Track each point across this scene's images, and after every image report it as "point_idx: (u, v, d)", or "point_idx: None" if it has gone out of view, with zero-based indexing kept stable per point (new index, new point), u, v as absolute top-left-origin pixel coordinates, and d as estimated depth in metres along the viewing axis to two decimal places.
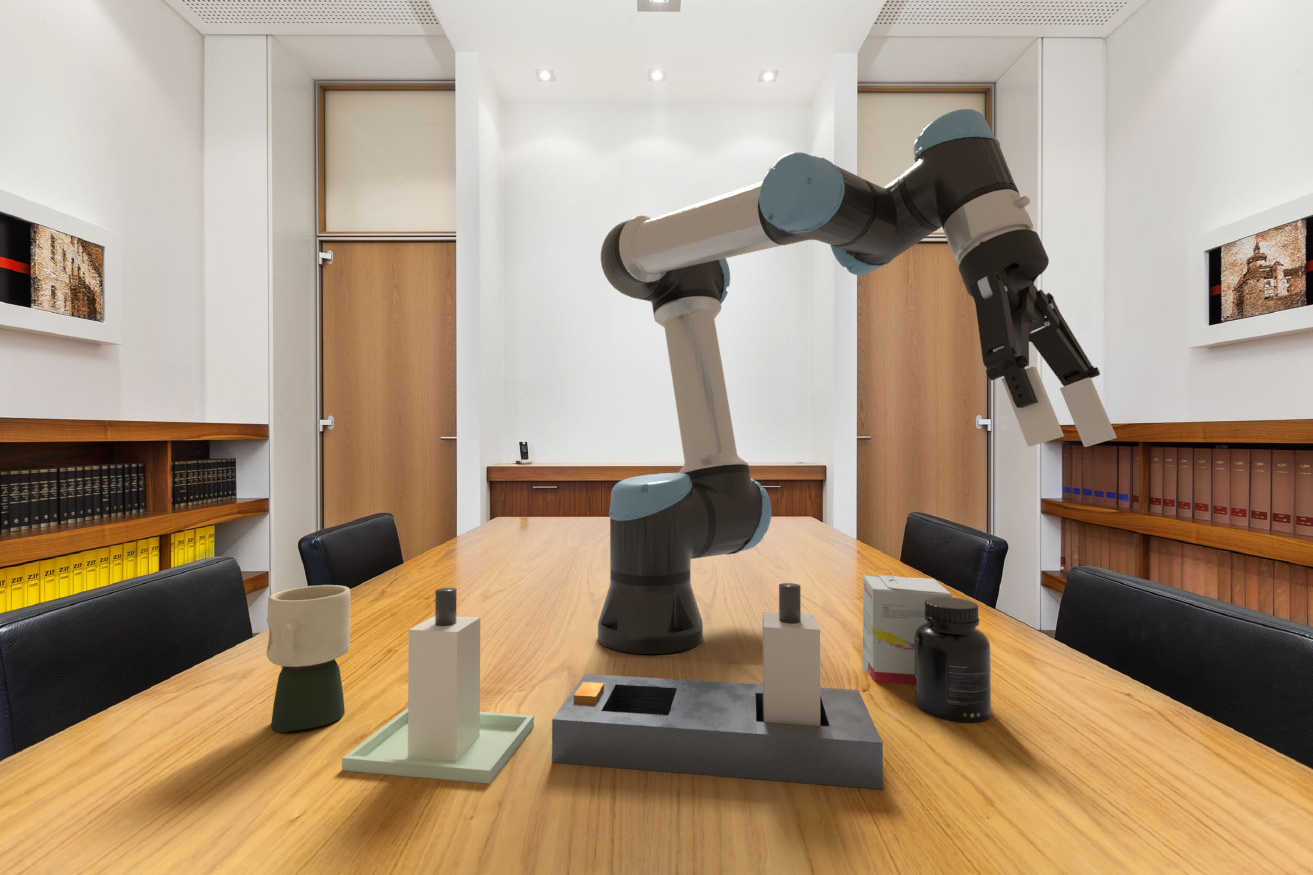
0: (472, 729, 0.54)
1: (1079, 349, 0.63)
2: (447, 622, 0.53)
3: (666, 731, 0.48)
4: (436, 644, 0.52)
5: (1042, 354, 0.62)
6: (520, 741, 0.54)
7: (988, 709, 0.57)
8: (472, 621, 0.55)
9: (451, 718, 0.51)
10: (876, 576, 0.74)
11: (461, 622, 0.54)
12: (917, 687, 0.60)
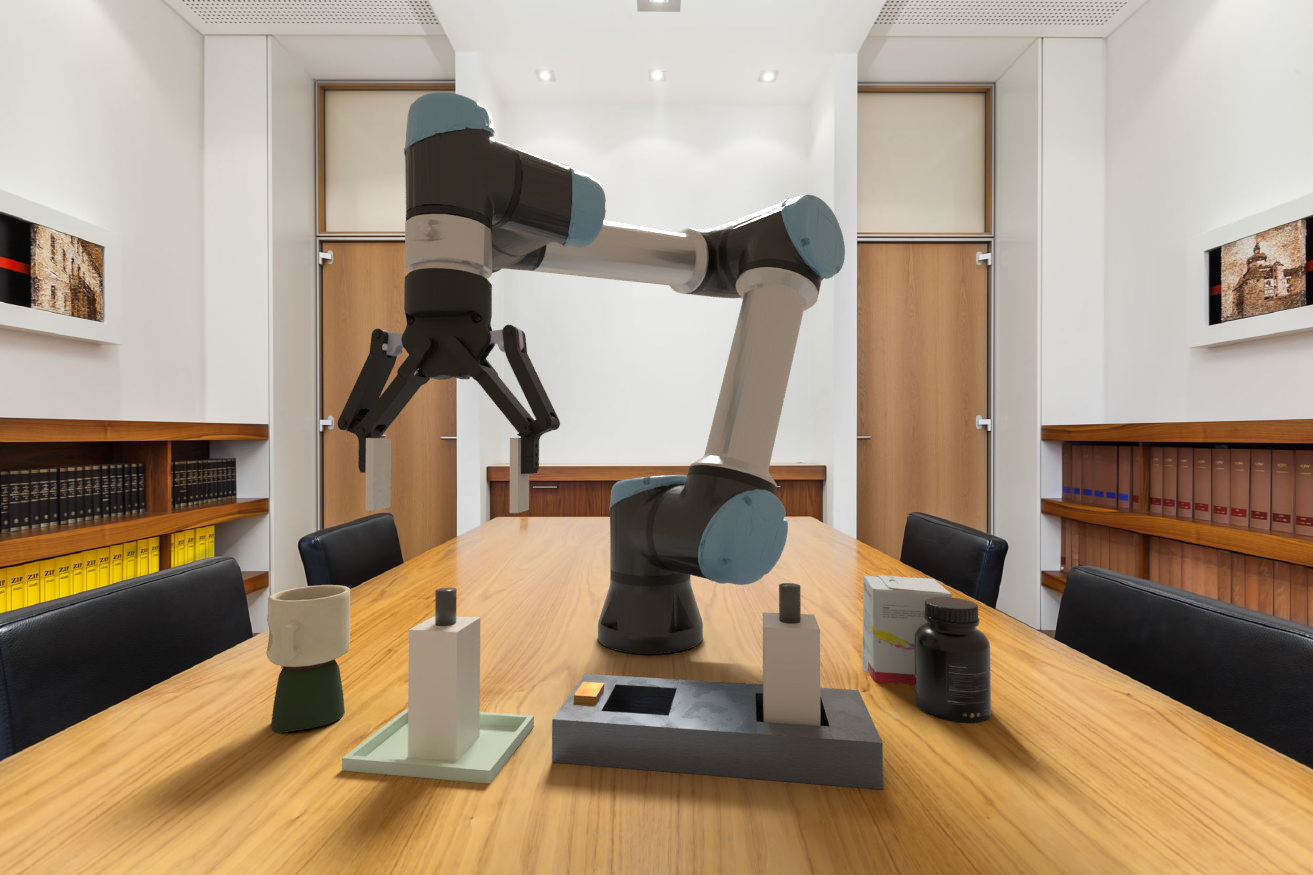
0: (472, 729, 0.54)
1: (529, 398, 0.52)
2: (447, 622, 0.53)
3: (666, 731, 0.48)
4: (436, 644, 0.52)
5: None
6: (520, 741, 0.54)
7: (988, 709, 0.57)
8: (472, 621, 0.55)
9: (451, 718, 0.51)
10: (876, 576, 0.74)
11: (461, 622, 0.54)
12: (917, 687, 0.60)
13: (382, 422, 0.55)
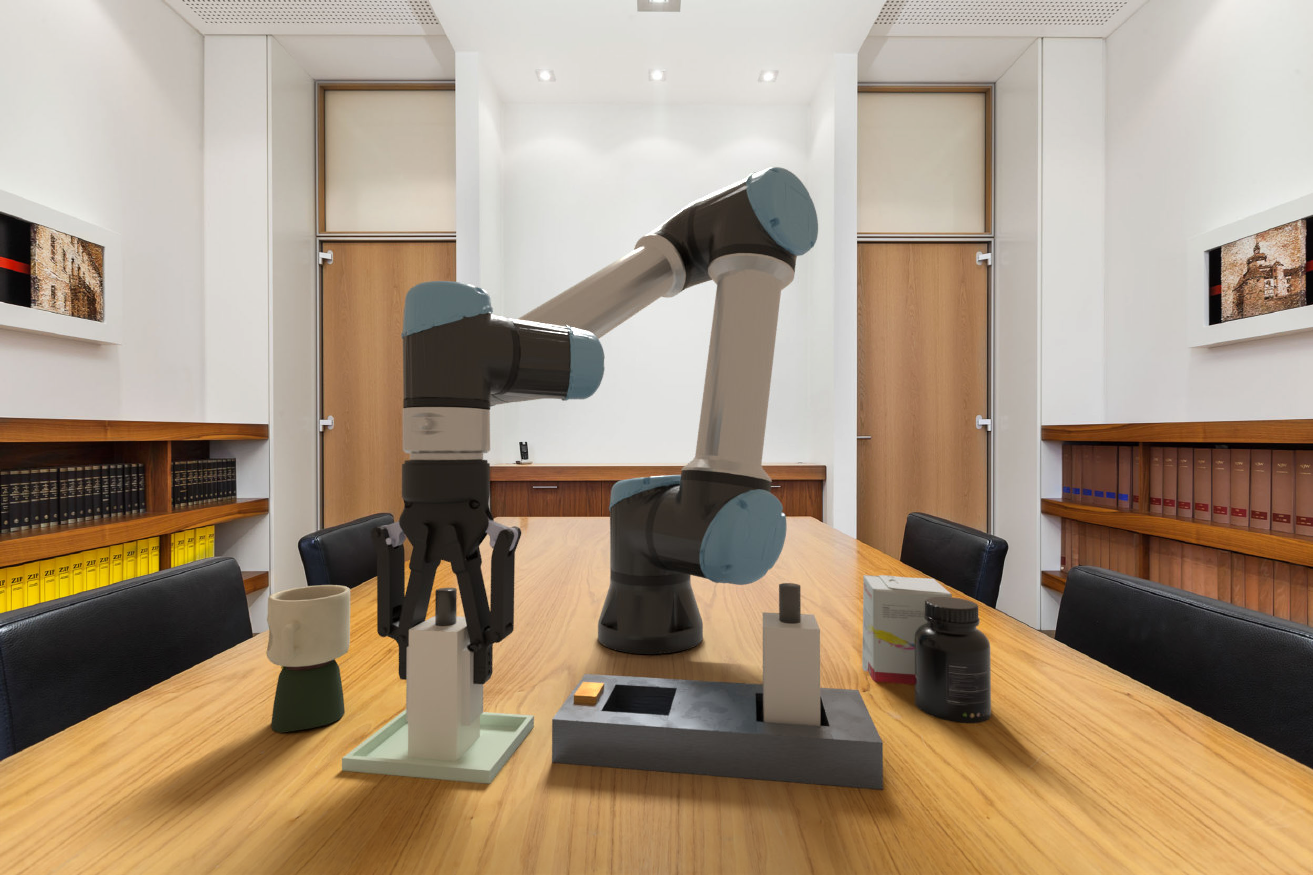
0: (472, 729, 0.54)
1: (493, 606, 0.52)
2: (447, 622, 0.53)
3: (666, 731, 0.48)
4: (436, 644, 0.52)
5: None
6: (520, 741, 0.54)
7: (988, 709, 0.57)
8: None
9: (451, 718, 0.51)
10: (876, 576, 0.74)
11: (461, 622, 0.54)
12: (917, 687, 0.60)
13: (417, 620, 0.54)
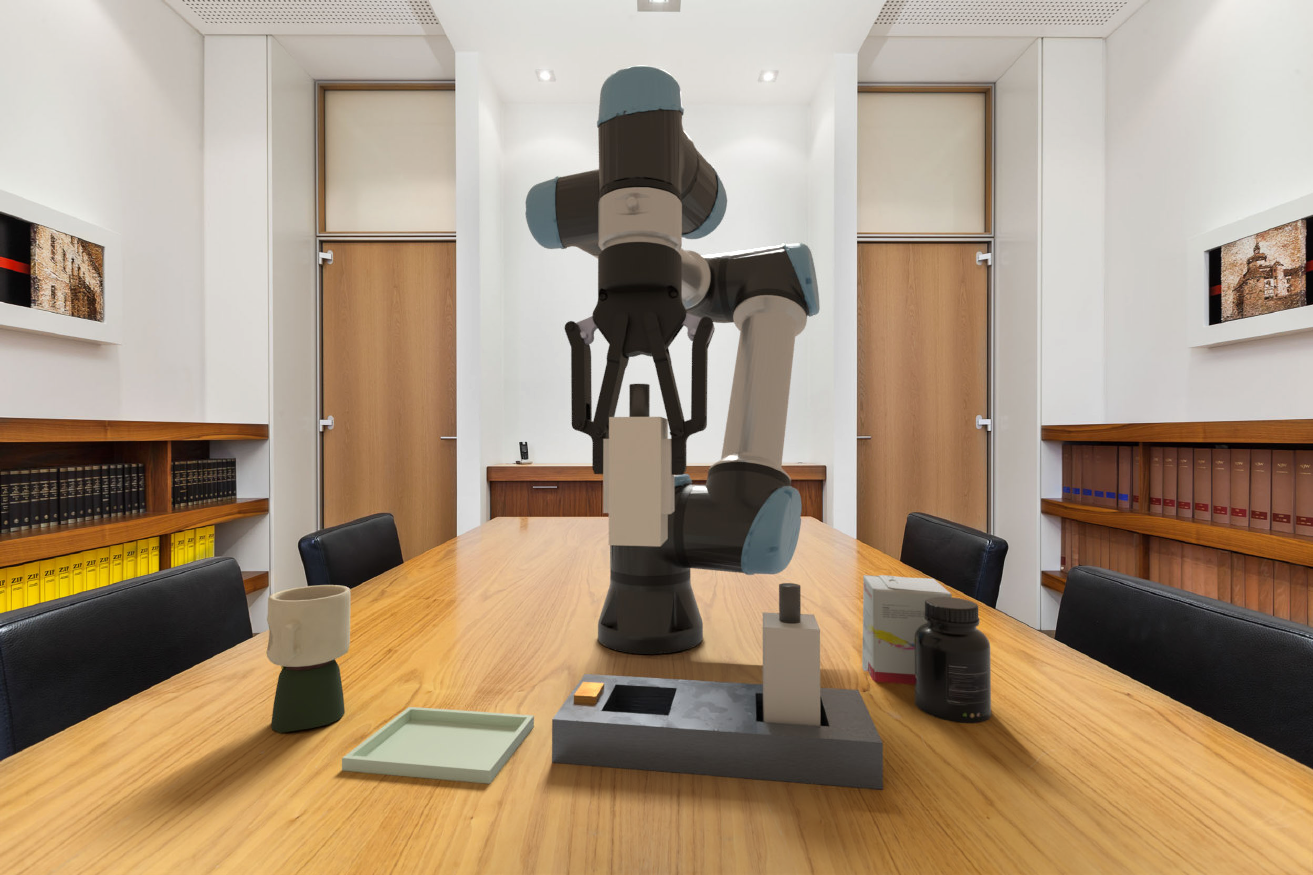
0: (665, 526, 0.54)
1: (694, 394, 0.52)
2: (644, 414, 0.53)
3: (666, 731, 0.48)
4: (638, 430, 0.51)
5: None
6: (520, 741, 0.54)
7: (988, 709, 0.57)
8: (664, 418, 0.54)
9: (654, 503, 0.51)
10: (876, 576, 0.74)
11: None
12: (917, 687, 0.60)
13: (610, 416, 0.54)
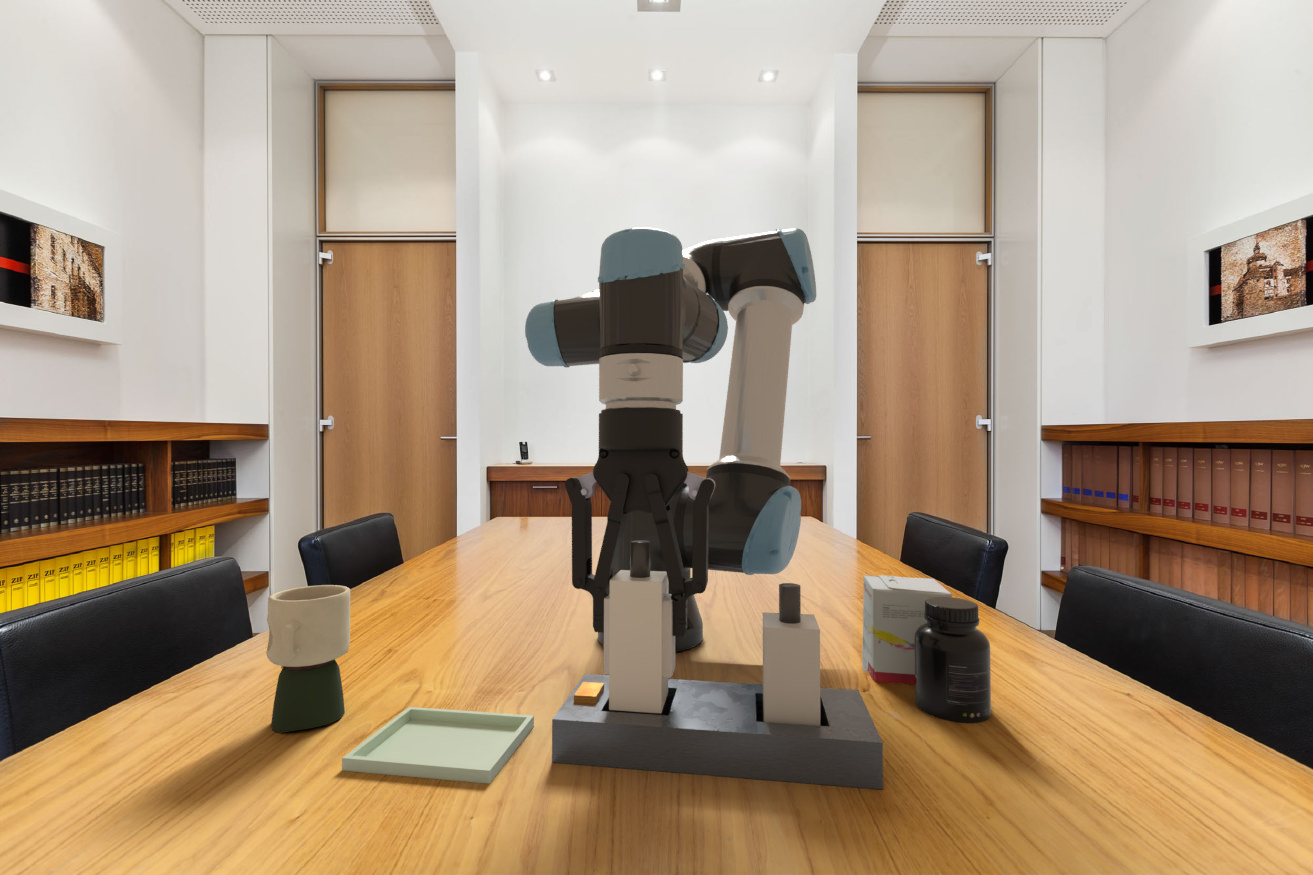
0: (666, 683, 0.53)
1: (695, 557, 0.51)
2: (644, 574, 0.52)
3: (666, 731, 0.48)
4: (638, 594, 0.51)
5: None
6: (520, 741, 0.54)
7: (988, 709, 0.57)
8: (665, 574, 0.54)
9: (655, 670, 0.50)
10: (876, 576, 0.74)
11: (655, 575, 0.53)
12: (917, 687, 0.60)
13: (611, 573, 0.53)
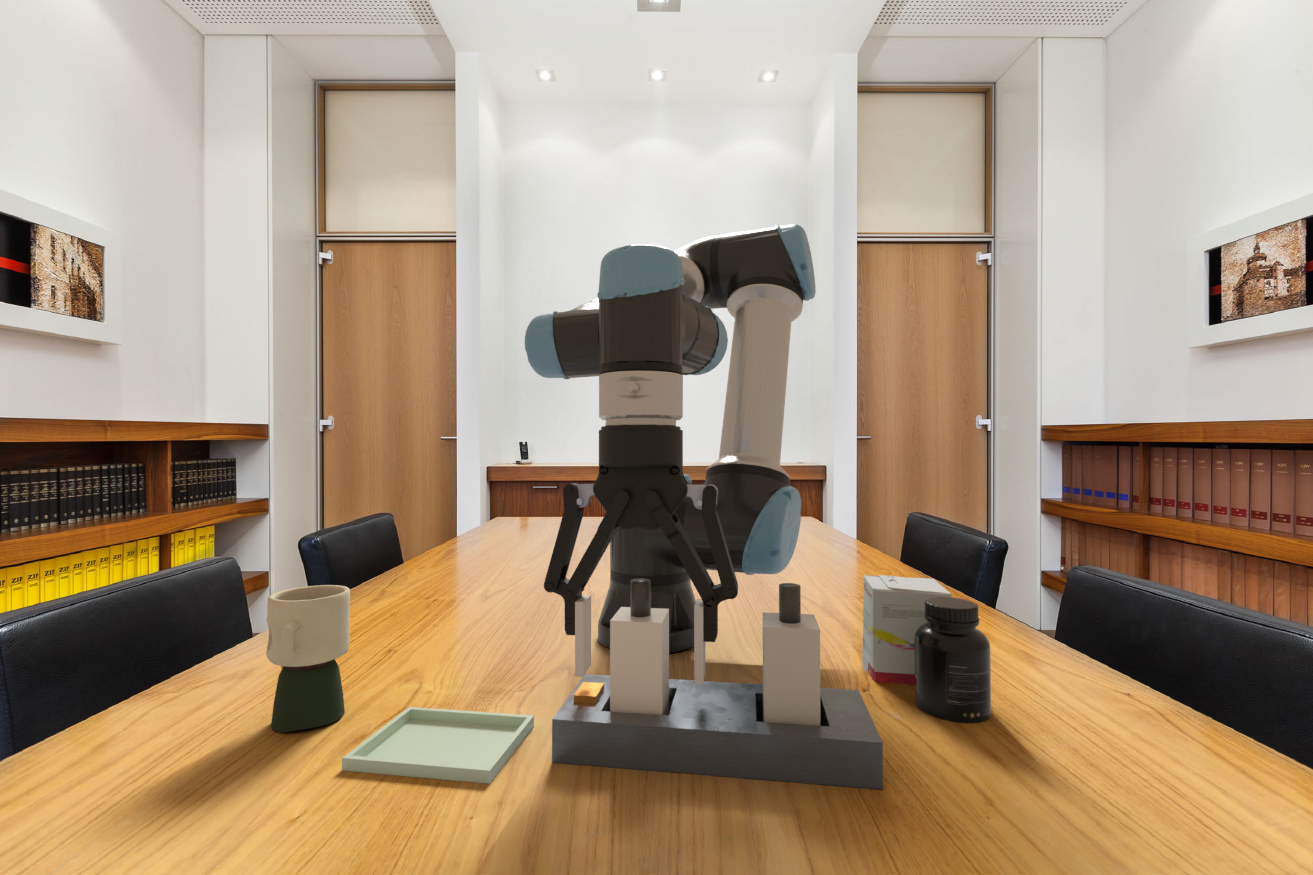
0: None
1: (719, 564, 0.51)
2: (645, 613, 0.52)
3: (666, 731, 0.48)
4: (639, 635, 0.51)
5: None
6: (520, 741, 0.54)
7: (988, 709, 0.57)
8: (665, 612, 0.54)
9: (656, 710, 0.51)
10: (876, 576, 0.74)
11: (655, 613, 0.53)
12: (917, 687, 0.60)
13: (586, 580, 0.54)
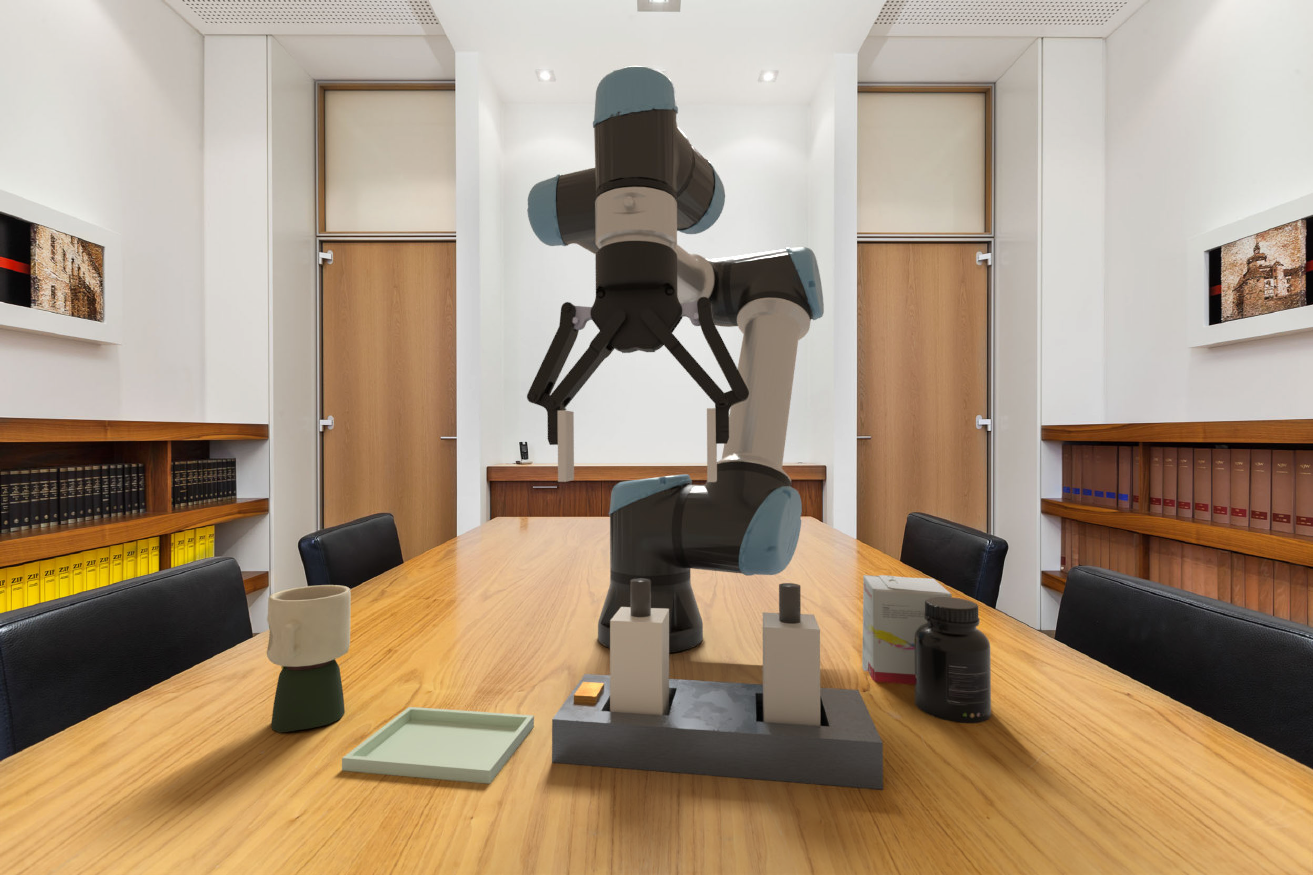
0: None
1: (726, 369, 0.53)
2: (645, 613, 0.52)
3: (666, 731, 0.48)
4: (639, 635, 0.51)
5: None
6: (520, 741, 0.54)
7: (988, 709, 0.57)
8: (665, 612, 0.54)
9: (656, 710, 0.51)
10: (876, 576, 0.74)
11: (655, 613, 0.53)
12: (917, 687, 0.60)
13: (570, 395, 0.56)
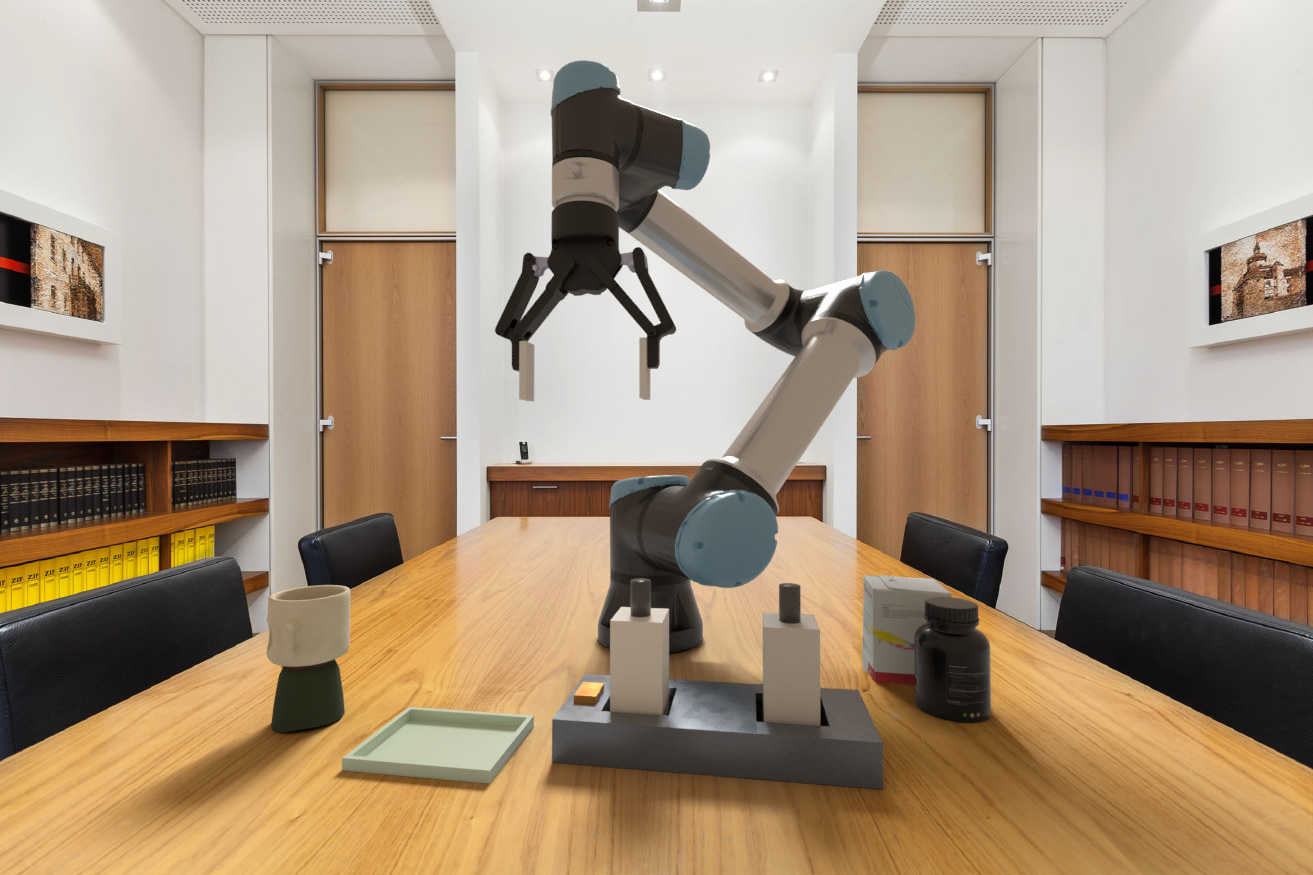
0: None
1: (655, 305, 0.65)
2: (645, 613, 0.52)
3: (666, 731, 0.48)
4: (639, 635, 0.51)
5: None
6: (520, 741, 0.54)
7: (988, 709, 0.57)
8: (665, 612, 0.54)
9: (656, 710, 0.51)
10: (876, 576, 0.74)
11: (655, 613, 0.53)
12: (917, 687, 0.60)
13: (530, 329, 0.68)
